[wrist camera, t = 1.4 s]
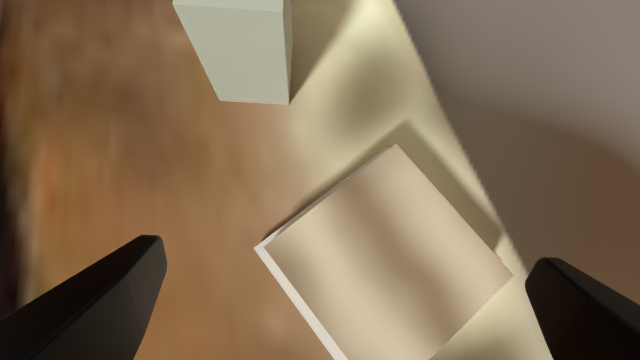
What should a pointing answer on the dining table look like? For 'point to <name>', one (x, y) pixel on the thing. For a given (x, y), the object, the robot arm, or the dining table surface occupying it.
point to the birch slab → (388, 263)
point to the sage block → (242, 46)
